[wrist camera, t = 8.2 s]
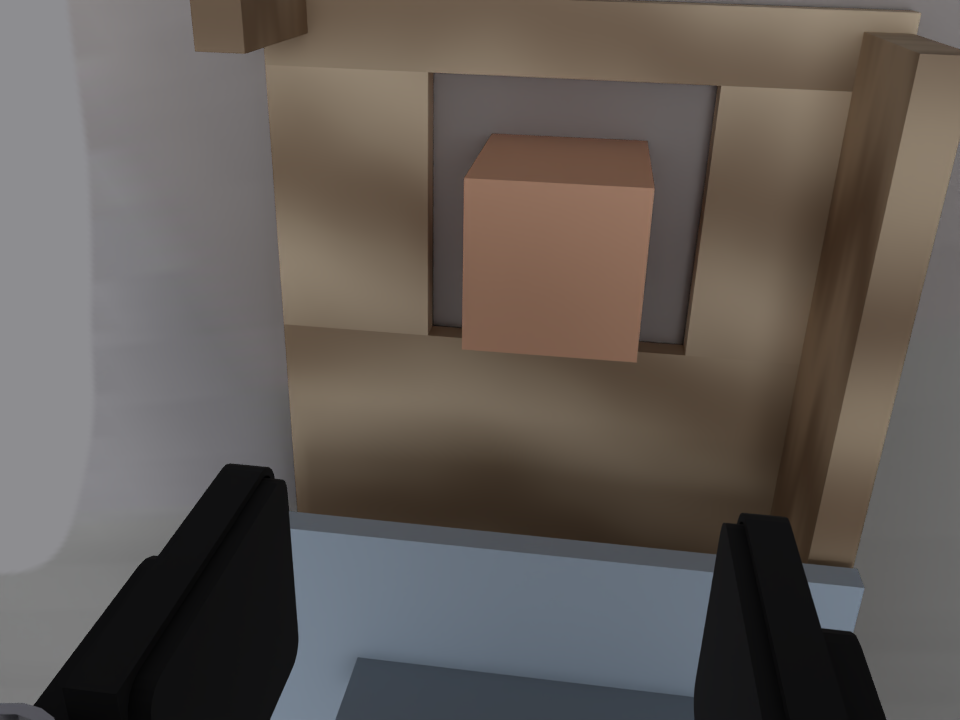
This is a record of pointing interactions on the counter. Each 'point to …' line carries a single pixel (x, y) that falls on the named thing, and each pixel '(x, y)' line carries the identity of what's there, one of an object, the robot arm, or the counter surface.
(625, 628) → the lid
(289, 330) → the board
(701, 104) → the counter surface
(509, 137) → the block
